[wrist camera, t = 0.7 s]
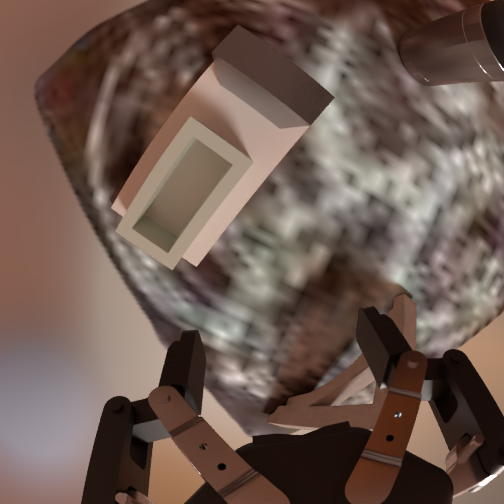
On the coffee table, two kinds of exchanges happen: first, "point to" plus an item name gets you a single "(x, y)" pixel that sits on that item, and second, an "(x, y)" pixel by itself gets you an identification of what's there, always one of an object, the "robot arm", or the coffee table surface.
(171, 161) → the well board
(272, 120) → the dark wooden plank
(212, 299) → the coffee table surface
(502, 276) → the coffee table surface
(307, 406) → the wall bracket
